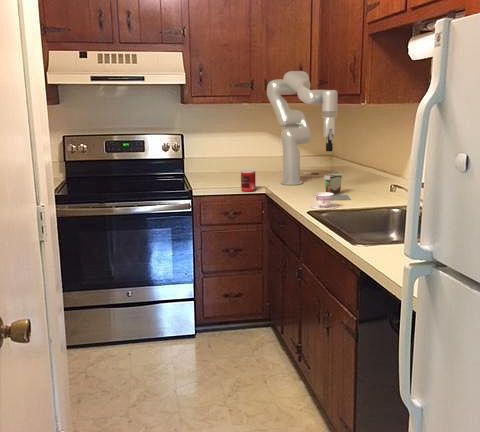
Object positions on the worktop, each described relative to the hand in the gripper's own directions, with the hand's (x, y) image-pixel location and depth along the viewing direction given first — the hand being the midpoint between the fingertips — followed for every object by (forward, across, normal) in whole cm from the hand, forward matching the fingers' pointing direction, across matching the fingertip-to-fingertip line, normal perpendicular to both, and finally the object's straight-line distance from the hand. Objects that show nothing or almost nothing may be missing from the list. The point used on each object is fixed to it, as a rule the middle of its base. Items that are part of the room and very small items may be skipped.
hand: (329, 151), depth 278 cm
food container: (+21, +9, 0) cm, 23 cm away
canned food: (+21, -4, -42) cm, 47 cm away
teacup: (+22, +39, -6) cm, 45 cm away
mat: (+21, +18, 0) cm, 28 cm away
